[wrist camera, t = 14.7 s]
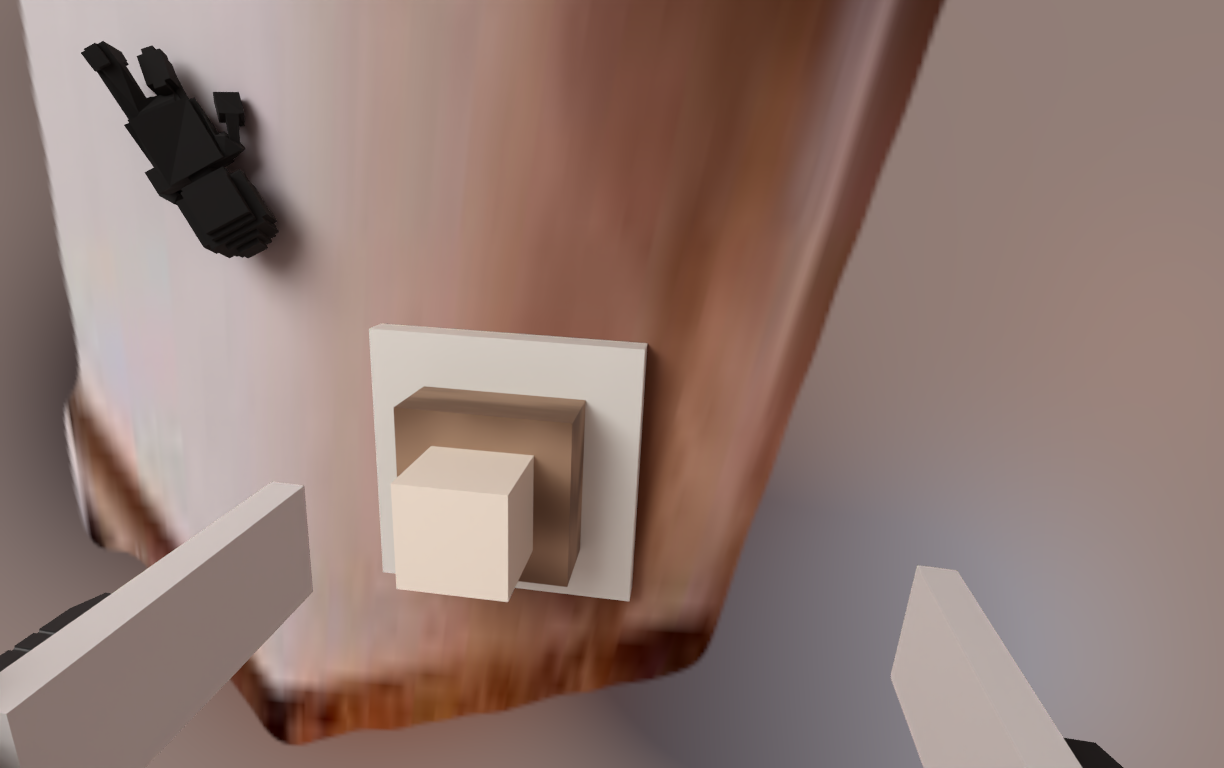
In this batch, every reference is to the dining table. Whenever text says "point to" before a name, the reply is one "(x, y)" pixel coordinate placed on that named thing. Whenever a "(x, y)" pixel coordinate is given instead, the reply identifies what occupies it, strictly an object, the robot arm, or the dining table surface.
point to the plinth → (534, 369)
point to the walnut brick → (513, 429)
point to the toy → (189, 151)
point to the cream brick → (463, 522)
